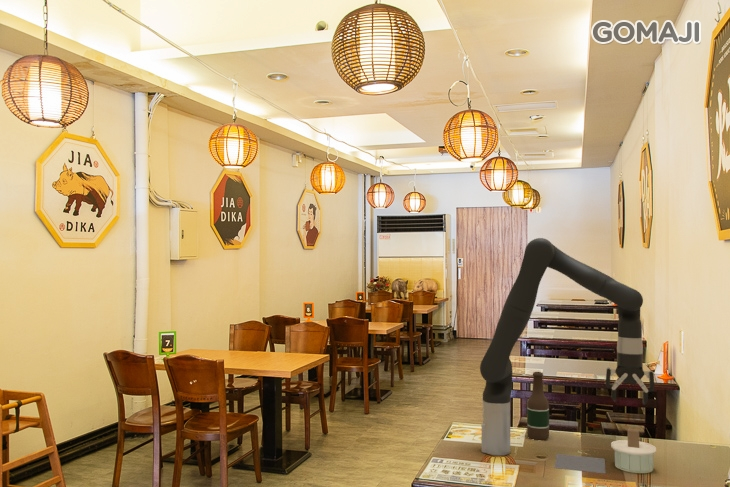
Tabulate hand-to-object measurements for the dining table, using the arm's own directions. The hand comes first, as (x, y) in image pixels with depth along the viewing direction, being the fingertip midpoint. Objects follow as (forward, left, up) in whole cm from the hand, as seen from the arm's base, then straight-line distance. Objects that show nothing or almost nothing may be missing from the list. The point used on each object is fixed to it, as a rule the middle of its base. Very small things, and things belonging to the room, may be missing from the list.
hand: (629, 402), depth 199 cm
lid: (+1, -1, -14) cm, 14 cm away
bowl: (+1, -1, -20) cm, 20 cm away
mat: (-15, -3, -20) cm, 25 cm away
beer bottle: (-30, +23, -21) cm, 43 cm away
